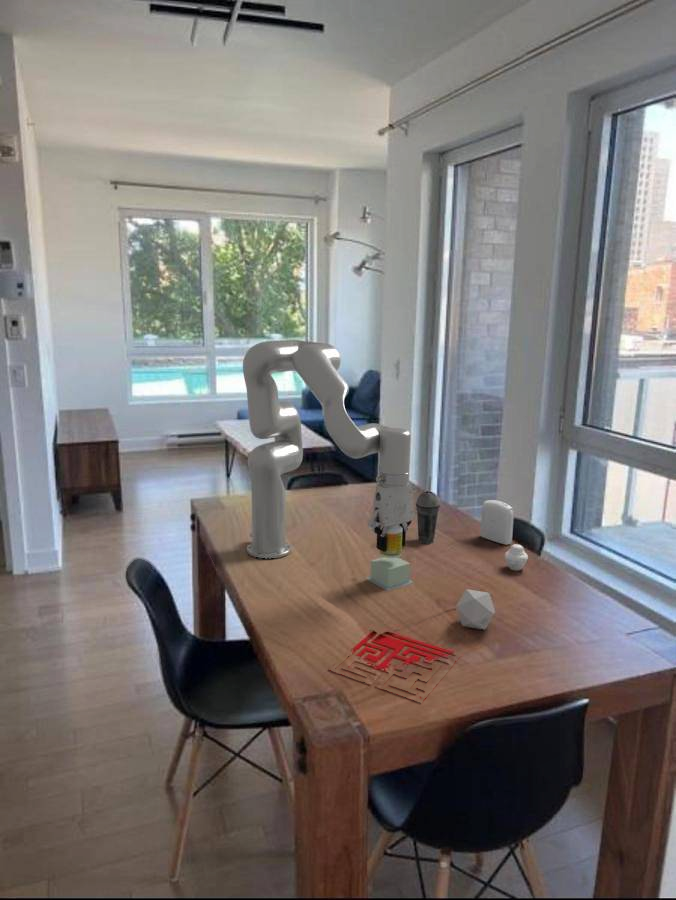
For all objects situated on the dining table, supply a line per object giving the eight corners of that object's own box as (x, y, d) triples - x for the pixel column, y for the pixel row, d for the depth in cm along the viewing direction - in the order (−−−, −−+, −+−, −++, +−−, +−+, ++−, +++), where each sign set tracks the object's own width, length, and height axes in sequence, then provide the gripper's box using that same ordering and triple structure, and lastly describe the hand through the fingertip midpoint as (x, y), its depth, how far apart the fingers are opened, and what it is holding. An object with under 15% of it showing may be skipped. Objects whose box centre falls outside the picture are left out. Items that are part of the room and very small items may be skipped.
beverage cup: (411, 543, 197) (414, 479, 193) (417, 535, 204) (420, 473, 199) (434, 546, 194) (438, 481, 190) (440, 538, 201) (444, 476, 197)
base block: (370, 578, 168) (371, 560, 167) (391, 572, 172) (391, 554, 171) (388, 588, 163) (389, 569, 161) (409, 581, 167) (410, 563, 165)
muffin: (527, 573, 176) (529, 549, 175) (504, 571, 177) (506, 547, 176) (526, 565, 182) (528, 541, 181) (503, 563, 183) (505, 539, 182)
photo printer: (477, 536, 204) (480, 498, 201) (486, 533, 206) (489, 496, 204) (505, 546, 196) (508, 507, 193) (513, 543, 199) (517, 504, 196)
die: (475, 641, 142) (503, 607, 141) (444, 614, 145) (471, 580, 144) (479, 637, 149) (505, 604, 149) (449, 611, 152) (475, 579, 152)
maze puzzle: (327, 672, 128) (328, 669, 128) (376, 630, 145) (376, 628, 145) (421, 706, 118) (421, 702, 118) (461, 657, 135) (462, 654, 135)
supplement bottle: (400, 559, 163) (401, 522, 160) (378, 557, 164) (380, 520, 161) (402, 551, 168) (404, 515, 166) (381, 549, 169) (383, 513, 167)
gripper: (376, 487, 153) (374, 559, 157) (429, 476, 163) (425, 545, 167) (356, 479, 159) (354, 549, 163) (409, 470, 169) (406, 536, 173)
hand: (390, 546), depth 165 cm, fingers closed on supplement bottle, 5 cm apart
